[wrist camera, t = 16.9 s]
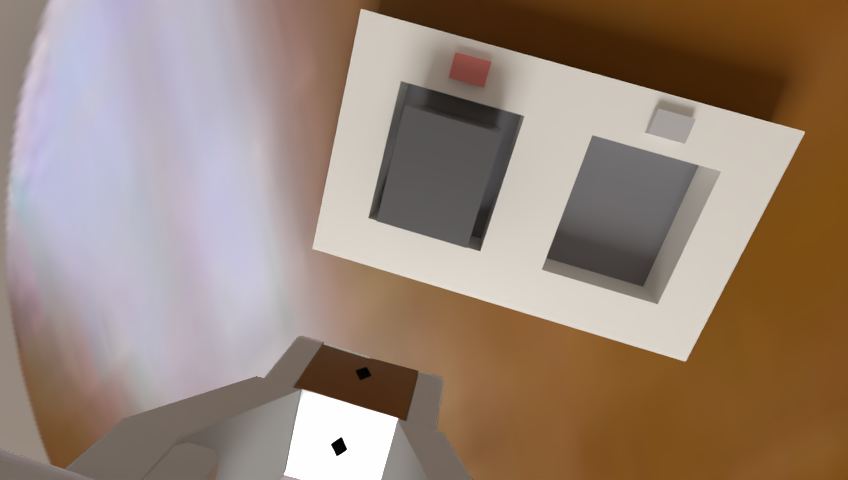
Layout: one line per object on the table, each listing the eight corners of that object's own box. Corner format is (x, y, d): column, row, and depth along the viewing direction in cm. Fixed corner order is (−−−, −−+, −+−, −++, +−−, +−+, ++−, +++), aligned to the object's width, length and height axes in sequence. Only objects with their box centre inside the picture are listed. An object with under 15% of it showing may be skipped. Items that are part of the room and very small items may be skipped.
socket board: (768, 128, 25) (812, 132, 21) (666, 335, 29) (689, 366, 25) (375, 18, 26) (358, 7, 22) (329, 234, 30) (309, 251, 26)
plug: (499, 126, 26) (502, 133, 20) (471, 217, 28) (466, 248, 22) (422, 104, 26) (404, 105, 21) (399, 196, 28) (376, 221, 22)
